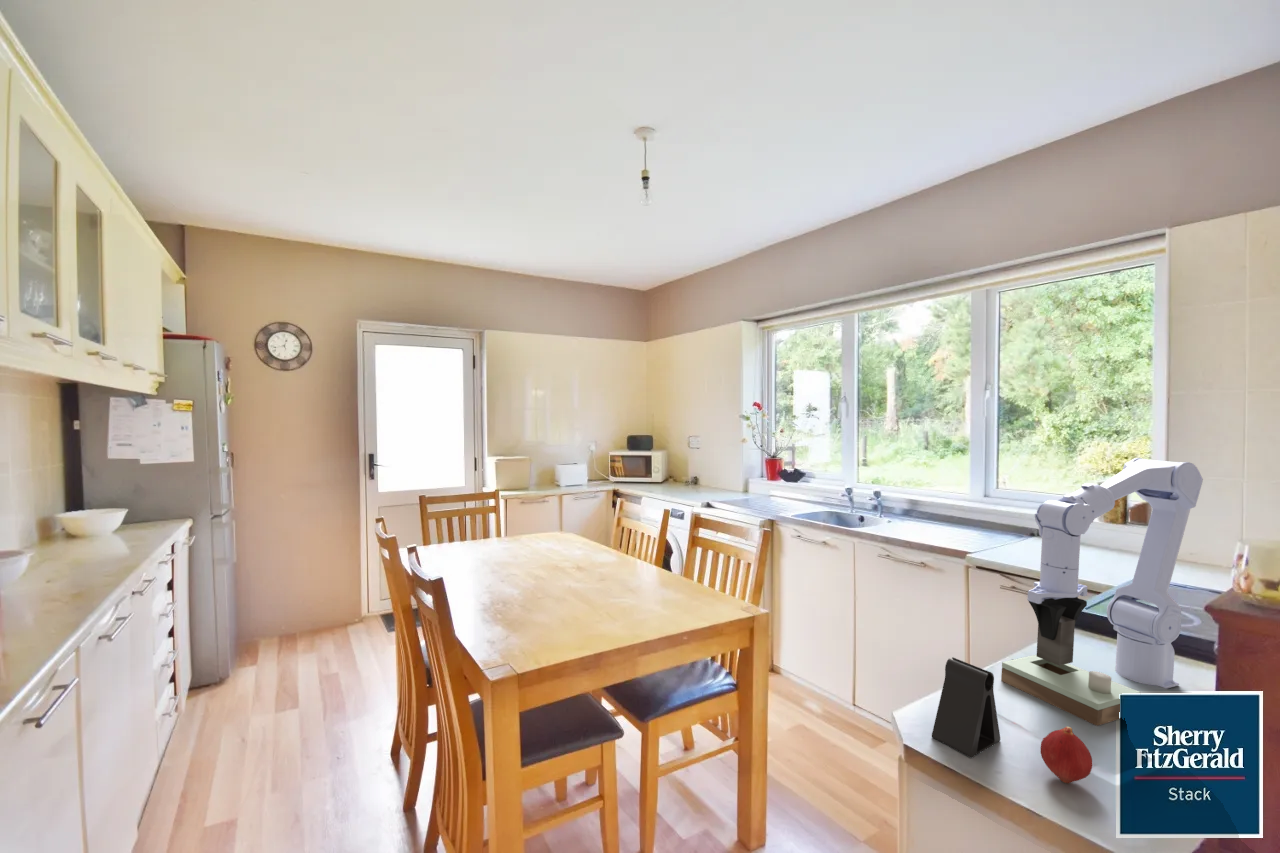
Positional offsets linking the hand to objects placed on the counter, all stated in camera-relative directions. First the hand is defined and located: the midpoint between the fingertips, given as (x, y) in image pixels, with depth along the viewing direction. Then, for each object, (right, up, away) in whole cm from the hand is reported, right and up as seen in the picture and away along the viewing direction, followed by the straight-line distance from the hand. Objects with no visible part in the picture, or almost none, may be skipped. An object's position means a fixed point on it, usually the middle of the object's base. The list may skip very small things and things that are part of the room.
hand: (1055, 636), depth 104 cm
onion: (-19, -11, -26) cm, 34 cm away
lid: (-1, -7, -4) cm, 8 cm away
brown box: (-1, -10, -4) cm, 11 cm away
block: (0, -4, 0) cm, 4 cm away
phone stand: (-27, -10, -17) cm, 33 cm away
